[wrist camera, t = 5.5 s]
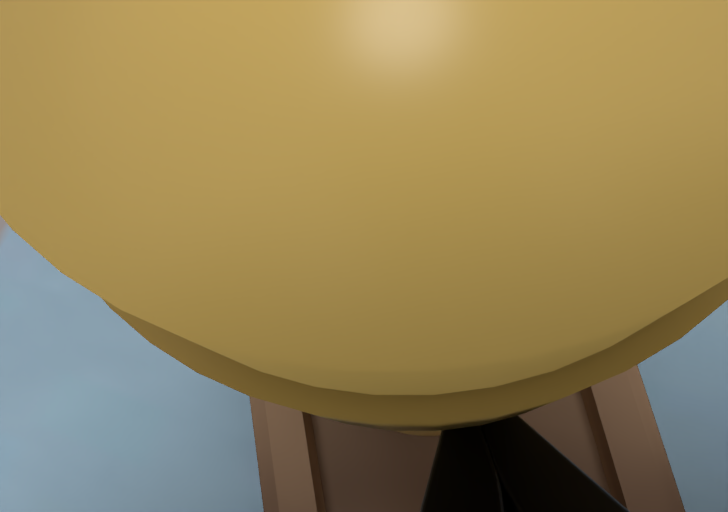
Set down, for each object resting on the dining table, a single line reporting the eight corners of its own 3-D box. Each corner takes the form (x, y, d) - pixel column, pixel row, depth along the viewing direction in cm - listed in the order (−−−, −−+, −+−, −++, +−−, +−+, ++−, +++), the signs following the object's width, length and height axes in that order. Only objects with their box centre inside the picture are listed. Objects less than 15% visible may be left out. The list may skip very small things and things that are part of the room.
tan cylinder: (573, 416, 14) (1292, 247, 2) (331, 465, 14) (-152, 534, 2) (509, 192, 15) (726, -549, 4) (294, 239, 16) (-86, -334, 4)
